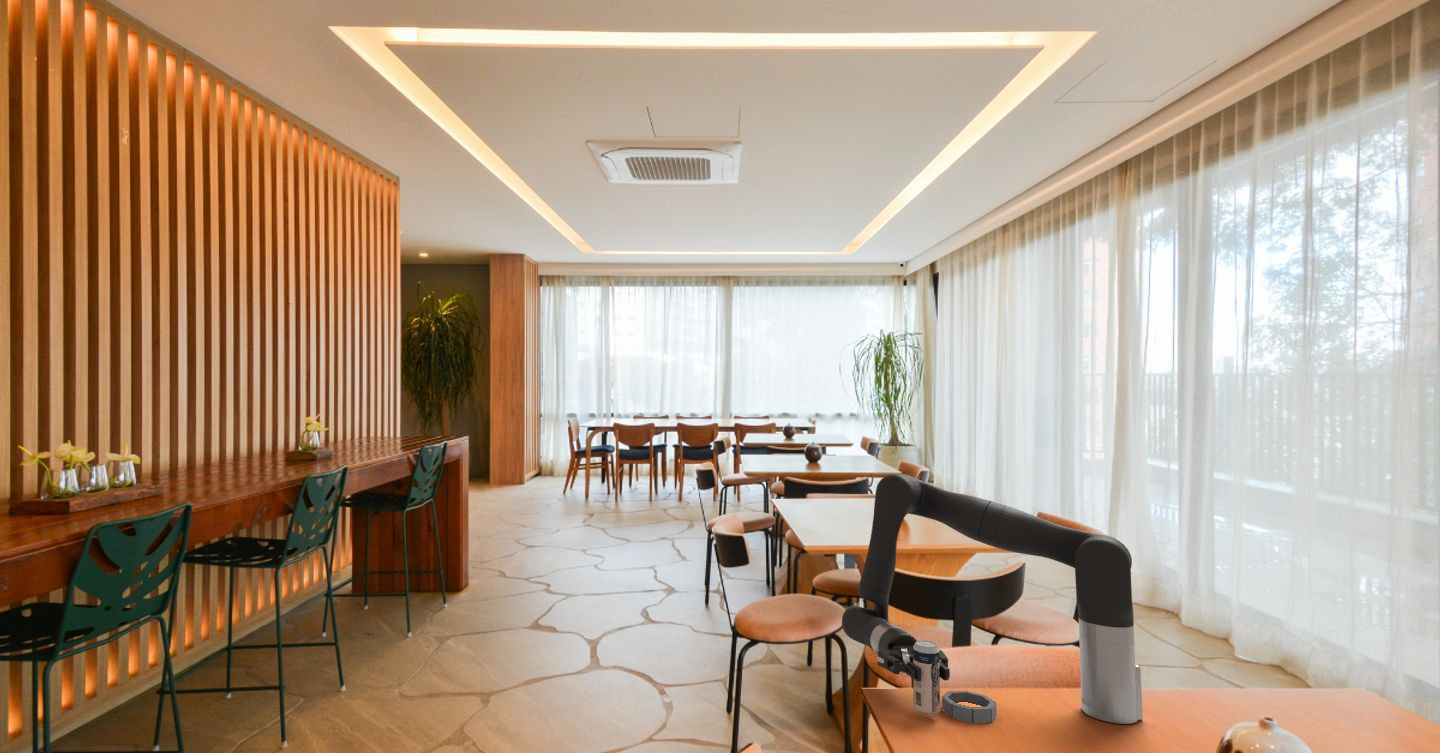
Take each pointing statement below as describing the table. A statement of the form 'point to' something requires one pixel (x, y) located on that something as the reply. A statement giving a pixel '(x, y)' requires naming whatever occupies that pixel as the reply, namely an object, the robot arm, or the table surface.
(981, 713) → the holder ring
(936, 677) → the beer can
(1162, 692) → the table surface
